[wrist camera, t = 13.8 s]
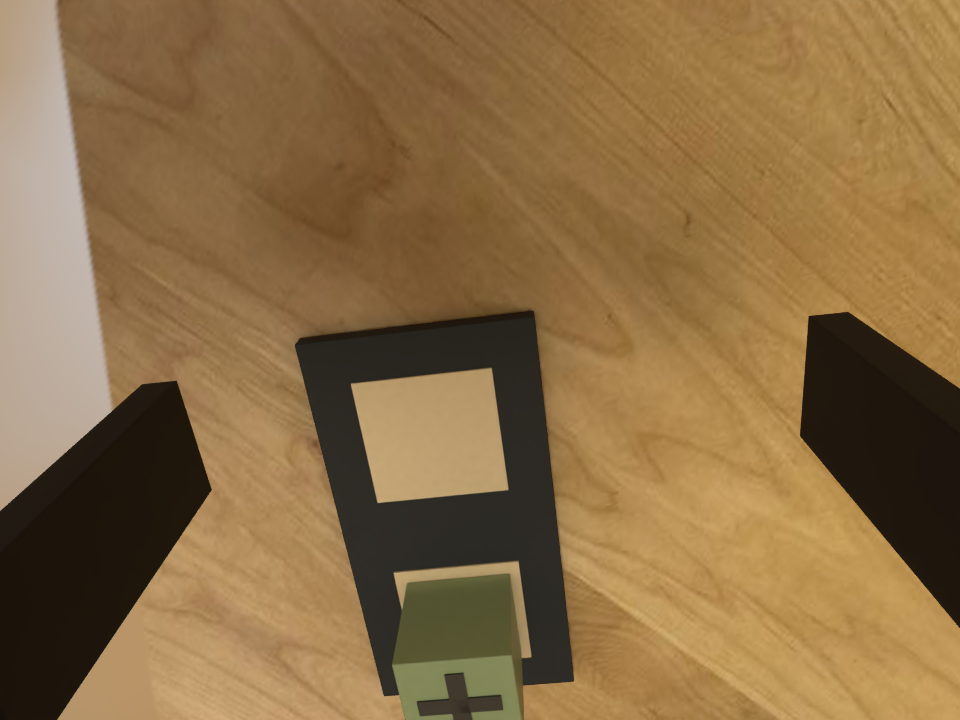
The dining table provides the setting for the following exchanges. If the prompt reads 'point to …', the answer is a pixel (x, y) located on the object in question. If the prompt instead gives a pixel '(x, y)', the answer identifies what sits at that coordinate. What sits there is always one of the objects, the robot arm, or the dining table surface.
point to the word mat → (442, 472)
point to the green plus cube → (459, 651)
